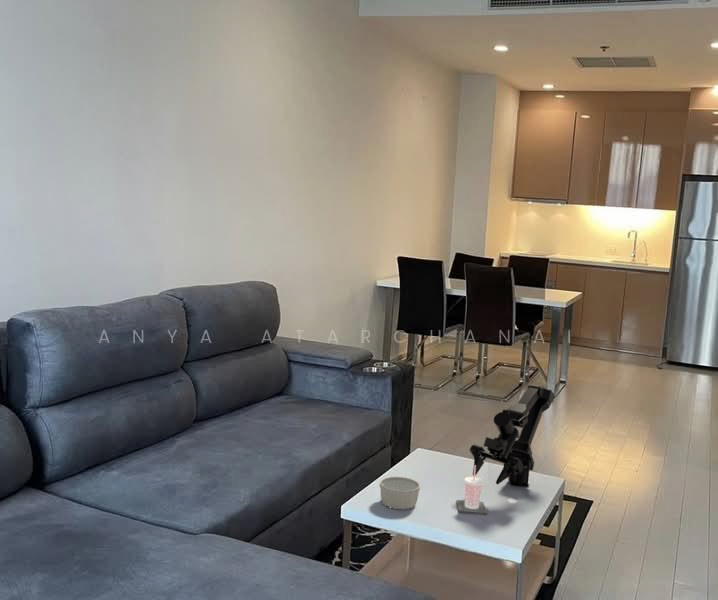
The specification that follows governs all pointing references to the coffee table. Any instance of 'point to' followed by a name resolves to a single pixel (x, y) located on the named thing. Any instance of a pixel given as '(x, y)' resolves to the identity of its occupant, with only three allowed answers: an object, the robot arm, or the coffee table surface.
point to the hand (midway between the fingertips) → (484, 479)
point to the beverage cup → (472, 491)
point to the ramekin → (399, 492)
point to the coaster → (472, 511)
